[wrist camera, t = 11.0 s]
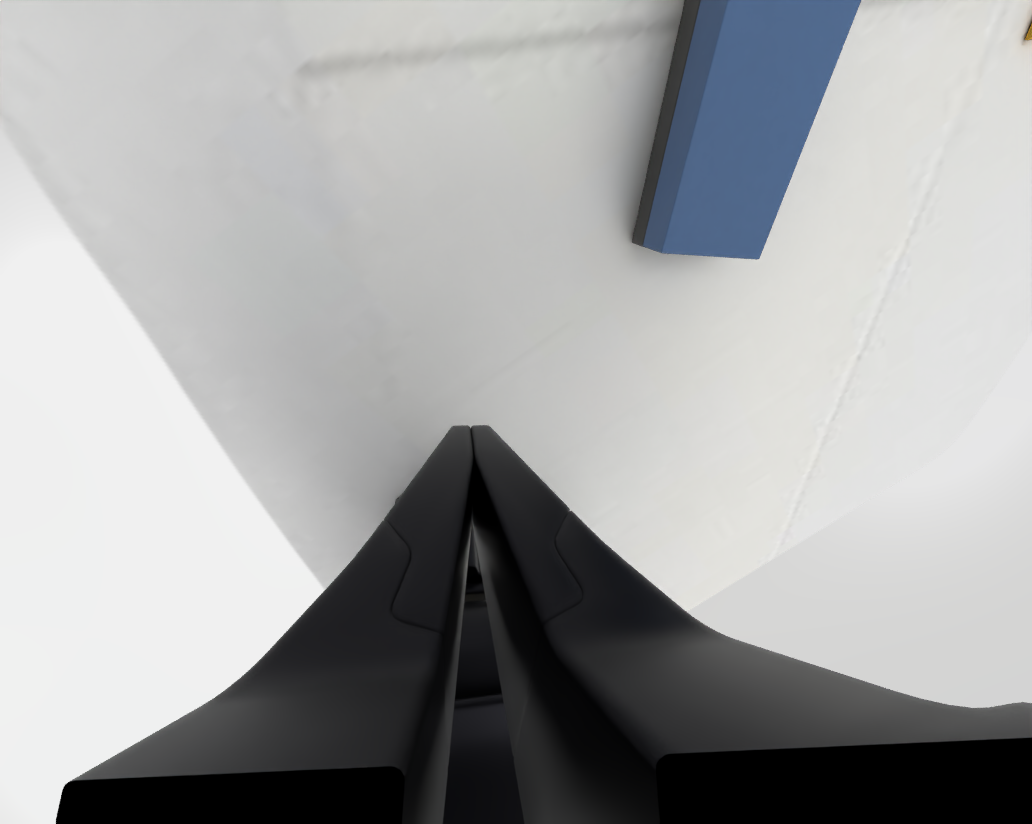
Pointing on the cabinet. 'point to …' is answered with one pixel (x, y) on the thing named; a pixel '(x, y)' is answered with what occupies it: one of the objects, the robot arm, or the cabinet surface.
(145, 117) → the cabinet surface
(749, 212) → the whiteboard eraser
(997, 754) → the robot arm
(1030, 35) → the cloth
